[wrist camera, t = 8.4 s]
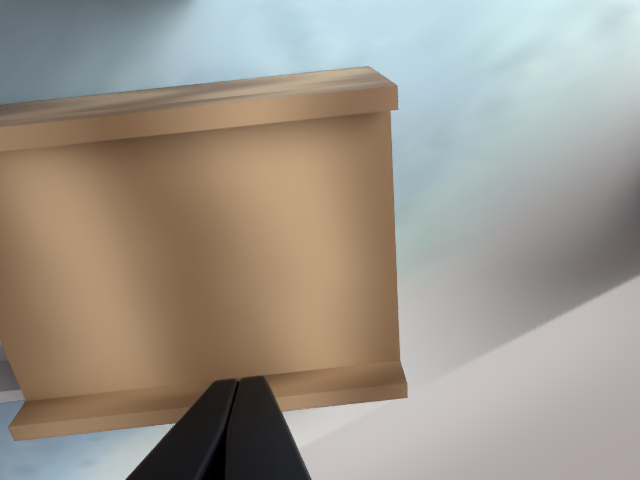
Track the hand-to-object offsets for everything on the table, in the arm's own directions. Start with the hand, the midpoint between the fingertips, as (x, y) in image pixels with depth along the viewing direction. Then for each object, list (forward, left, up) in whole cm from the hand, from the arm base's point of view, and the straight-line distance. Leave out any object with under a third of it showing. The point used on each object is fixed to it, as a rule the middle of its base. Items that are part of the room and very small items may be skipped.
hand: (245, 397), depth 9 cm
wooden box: (+1, +3, -12) cm, 12 cm away
